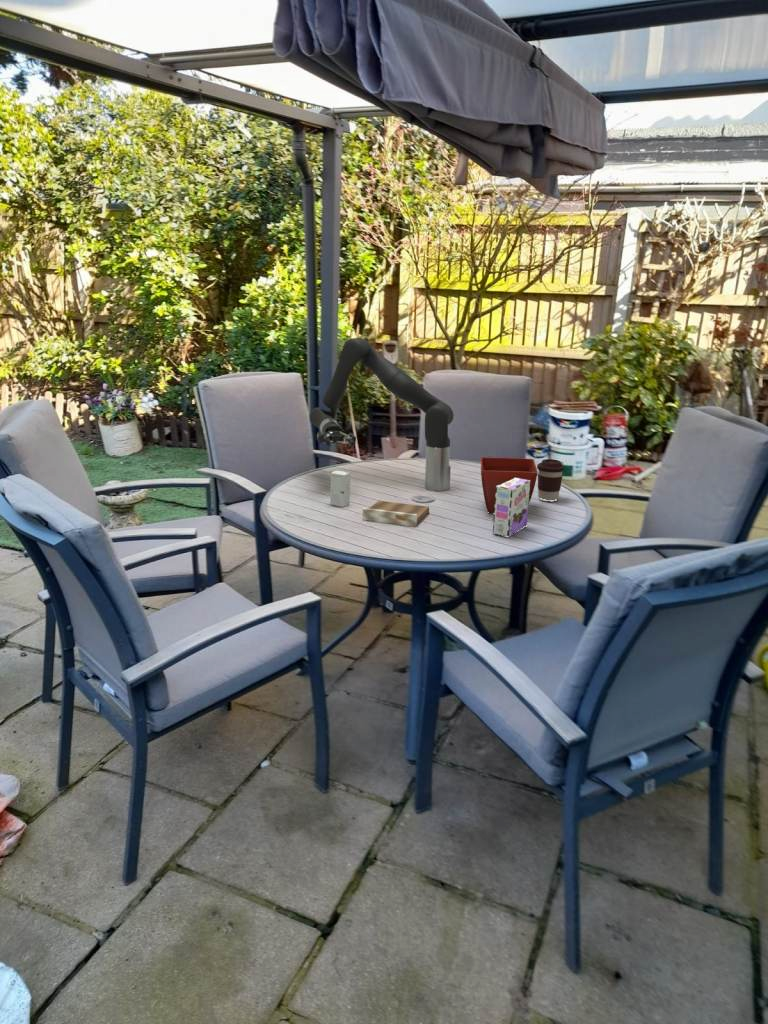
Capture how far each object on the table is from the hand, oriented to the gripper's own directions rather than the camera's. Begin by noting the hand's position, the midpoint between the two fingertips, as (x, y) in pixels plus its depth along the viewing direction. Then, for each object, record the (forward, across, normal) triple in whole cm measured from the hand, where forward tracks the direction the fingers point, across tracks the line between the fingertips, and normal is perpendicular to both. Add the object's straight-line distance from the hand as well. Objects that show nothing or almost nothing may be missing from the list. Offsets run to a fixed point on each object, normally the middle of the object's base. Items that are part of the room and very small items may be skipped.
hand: (340, 444), depth 248 cm
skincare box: (+12, -1, +20) cm, 23 cm away
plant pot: (+32, +55, +12) cm, 65 cm away
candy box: (+53, +46, +10) cm, 71 cm away
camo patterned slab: (+29, +15, +16) cm, 37 cm away
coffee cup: (+26, +76, +11) cm, 81 cm away
